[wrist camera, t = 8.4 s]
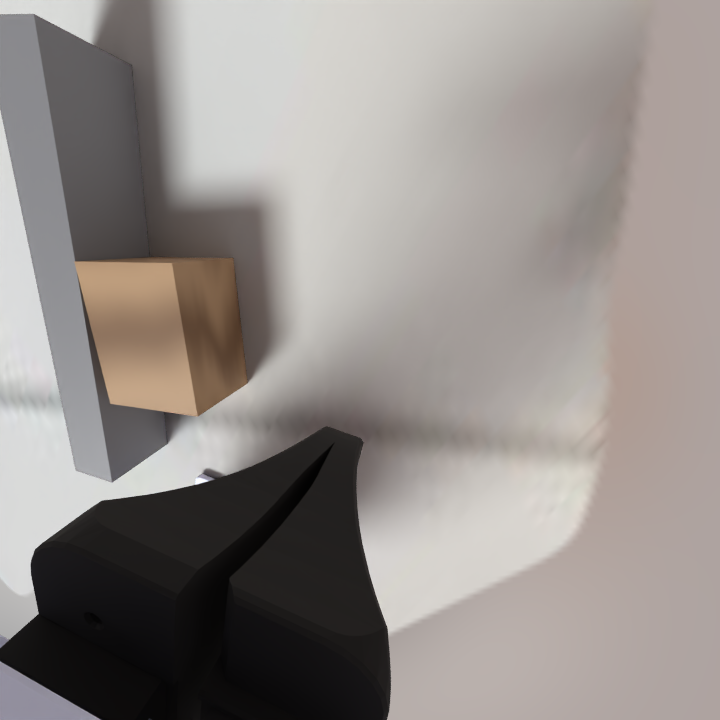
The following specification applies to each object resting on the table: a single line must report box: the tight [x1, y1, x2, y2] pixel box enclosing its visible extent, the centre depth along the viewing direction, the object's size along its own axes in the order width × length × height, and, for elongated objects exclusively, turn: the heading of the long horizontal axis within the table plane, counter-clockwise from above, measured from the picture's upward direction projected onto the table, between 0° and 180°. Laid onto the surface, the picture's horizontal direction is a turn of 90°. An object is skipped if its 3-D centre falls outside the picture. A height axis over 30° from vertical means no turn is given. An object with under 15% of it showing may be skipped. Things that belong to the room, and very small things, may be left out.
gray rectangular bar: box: [0, 14, 167, 482], centre depth 21 cm, size 24×3×5 cm, turn 173°
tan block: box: [74, 257, 248, 417], centre depth 21 cm, size 8×6×5 cm
